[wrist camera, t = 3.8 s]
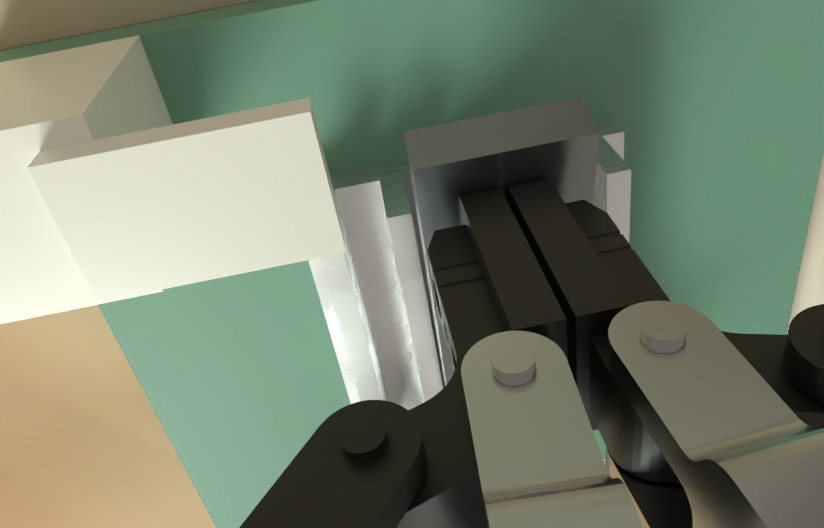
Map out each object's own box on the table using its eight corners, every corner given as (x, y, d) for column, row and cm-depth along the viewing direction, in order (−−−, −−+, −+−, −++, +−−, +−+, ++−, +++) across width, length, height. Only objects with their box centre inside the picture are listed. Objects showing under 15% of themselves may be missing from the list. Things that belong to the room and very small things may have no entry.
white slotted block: (610, 117, 19) (655, 164, 17) (608, 355, 24) (642, 419, 22) (290, 180, 19) (288, 238, 17) (356, 407, 24) (362, 477, 22)
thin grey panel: (554, 490, 24) (564, 524, 23) (462, 509, 24) (469, 544, 23) (583, 93, 12) (608, 135, 11) (396, 129, 12) (407, 175, 11)
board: (843, -114, 18) (1104, -72, 12) (751, 403, 28) (864, 557, 23) (-9, 52, 17) (-167, 178, 12) (224, 511, 28) (203, 695, 22)
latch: (304, 2, 16) (303, 84, 12) (340, 153, 19) (351, 272, 14) (-28, 67, 16) (-163, 176, 12) (48, 211, 19) (-39, 350, 14)
